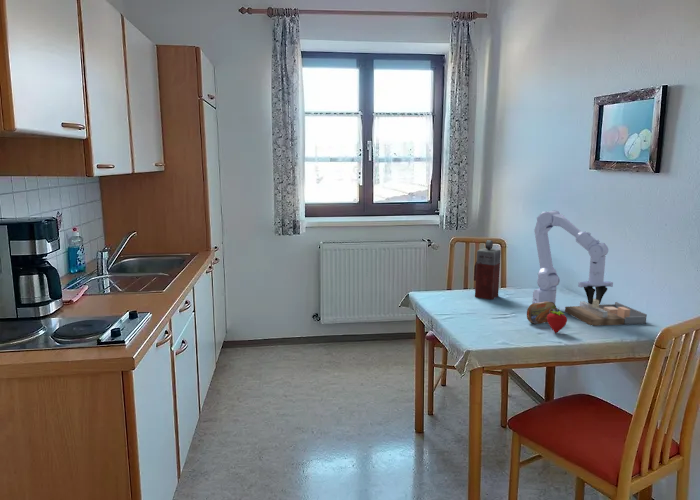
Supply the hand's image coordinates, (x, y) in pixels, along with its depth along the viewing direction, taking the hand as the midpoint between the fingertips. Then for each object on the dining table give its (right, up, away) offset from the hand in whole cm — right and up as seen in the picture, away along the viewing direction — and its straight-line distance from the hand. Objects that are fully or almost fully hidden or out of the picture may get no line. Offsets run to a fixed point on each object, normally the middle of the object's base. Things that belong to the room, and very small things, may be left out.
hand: (594, 303), depth 226 cm
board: (0, -6, +1) cm, 6 cm away
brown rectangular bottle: (-37, 0, +37) cm, 52 cm away
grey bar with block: (0, -4, +1) cm, 4 cm away
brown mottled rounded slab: (-24, -7, -5) cm, 26 cm away
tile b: (+10, -5, +6) cm, 13 cm away
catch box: (+12, -6, +3) cm, 14 cm away
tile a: (+11, -4, -2) cm, 11 cm away
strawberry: (-24, -10, -19) cm, 32 cm away
